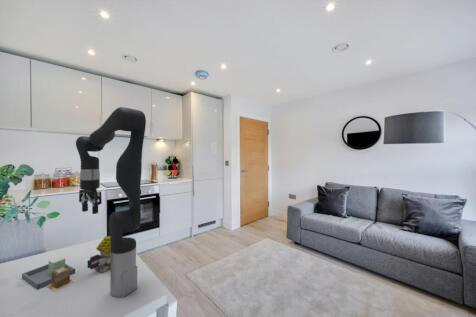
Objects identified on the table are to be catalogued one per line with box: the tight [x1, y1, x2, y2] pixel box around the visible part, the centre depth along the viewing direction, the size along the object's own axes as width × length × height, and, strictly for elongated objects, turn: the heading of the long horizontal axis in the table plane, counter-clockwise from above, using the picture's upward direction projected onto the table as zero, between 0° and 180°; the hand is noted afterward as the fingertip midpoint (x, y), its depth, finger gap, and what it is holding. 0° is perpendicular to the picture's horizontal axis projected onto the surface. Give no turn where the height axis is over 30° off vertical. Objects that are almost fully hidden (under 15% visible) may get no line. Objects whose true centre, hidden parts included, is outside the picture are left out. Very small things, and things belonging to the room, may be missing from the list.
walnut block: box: [52, 266, 71, 289], centre depth 85 cm, size 4×4×6 cm
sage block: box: [48, 256, 66, 275], centre depth 93 cm, size 4×4×6 cm
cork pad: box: [45, 279, 75, 293], centre depth 85 cm, size 7×7×1 cm
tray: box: [21, 263, 76, 290], centre depth 91 cm, size 16×13×2 cm
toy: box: [86, 235, 111, 274], centre depth 96 cm, size 10×13×15 cm
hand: (90, 212), depth 95 cm, fingers open, 8 cm apart
